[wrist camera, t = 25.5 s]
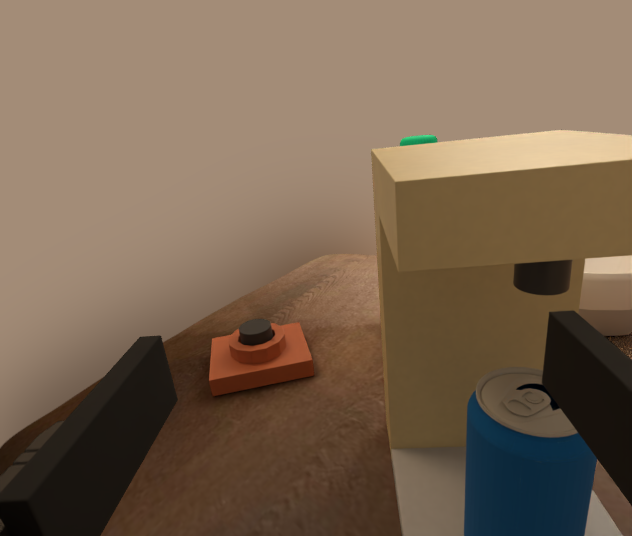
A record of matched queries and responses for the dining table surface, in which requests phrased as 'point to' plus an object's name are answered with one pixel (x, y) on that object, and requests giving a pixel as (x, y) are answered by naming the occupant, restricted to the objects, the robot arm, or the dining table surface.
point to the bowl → (607, 294)
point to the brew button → (255, 332)
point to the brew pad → (259, 360)
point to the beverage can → (523, 460)
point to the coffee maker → (481, 286)
